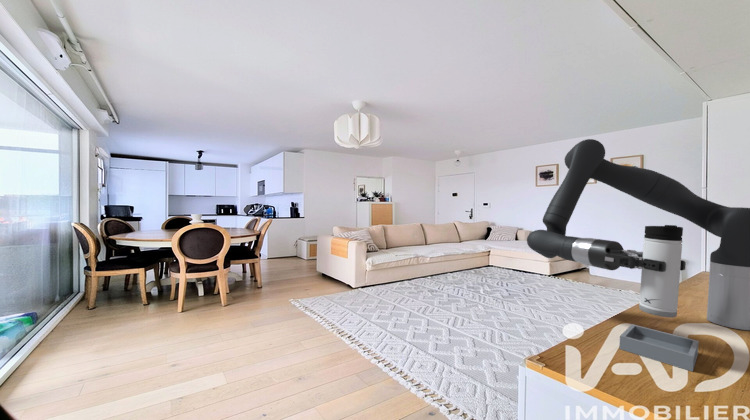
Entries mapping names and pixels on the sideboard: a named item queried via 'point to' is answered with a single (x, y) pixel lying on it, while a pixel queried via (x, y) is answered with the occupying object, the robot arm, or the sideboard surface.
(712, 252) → the robot arm
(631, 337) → the tray
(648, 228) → the travel mug
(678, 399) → the sideboard surface
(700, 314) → the sideboard surface
